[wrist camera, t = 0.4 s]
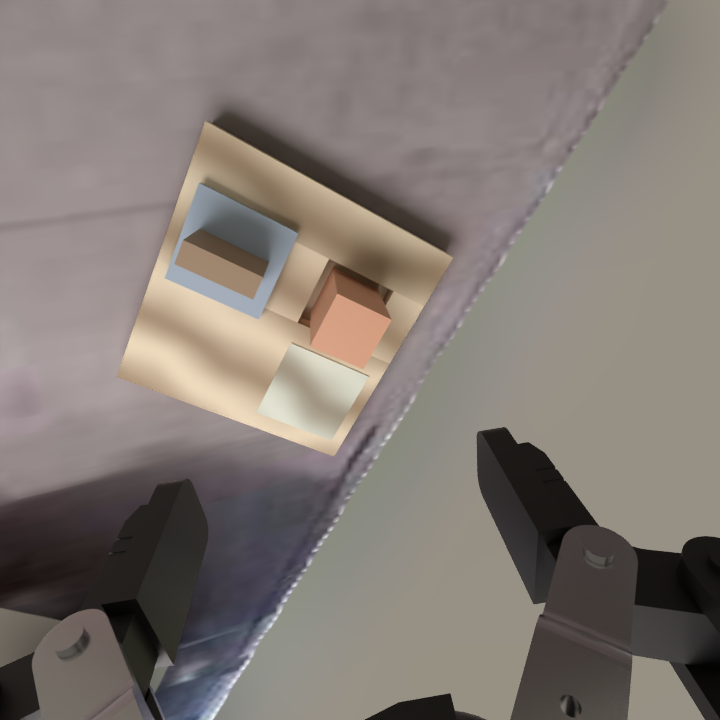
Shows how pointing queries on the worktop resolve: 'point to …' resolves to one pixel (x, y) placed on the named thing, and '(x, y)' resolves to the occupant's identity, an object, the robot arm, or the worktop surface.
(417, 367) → the worktop surface
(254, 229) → the lid
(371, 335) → the block
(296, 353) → the board
